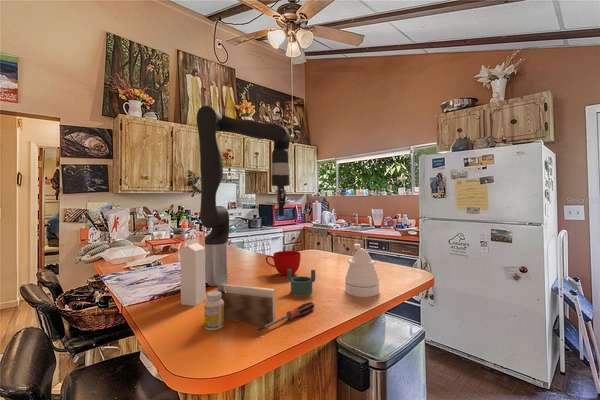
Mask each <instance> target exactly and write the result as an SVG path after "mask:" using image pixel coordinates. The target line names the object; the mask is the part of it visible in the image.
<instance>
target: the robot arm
mask: <svg viewBox="0 0 600 400" xmlns="http://www.w3.org/2000/svg"><path fill="white" fill-rule="evenodd" d="M196 124H197V133H198V139H199V162H200V163H199V167H200V189H201V190H200V194H201V195H200V196H201V197H200V206H199V207H200V209H199V212H200V213H199V216H200V217H199V218H200V222H201V224H202V226H203V227H204V228H205V229H211V230H210V232H209V234H207V236H205V237H204V248H205V281H206V282H207V283H208V285H209V286H211V287H213V286H214V287H215V286H216V287H217V284H219V283H226V284H228V237H229V235H230V214H229V211H228V209H227V208H226V207H225V206H224V205H223V206H222V205H217V194H218V193H217V192H218V190H219V187H220V185H221V182H222V180H223V176H224V167H223V166H224V165H223V157H222V154H221V151H220V148H219V145H218V141H217V132H220V133H221V132H223V133H233V134H238V135H240V136H245V137H250V138H252V139H257V140H267V141H272V142H273V150H272V153H271V186H273V187H276V190H275V199H276V200H275V201H276V206H277V215H278V217H284V215H285V213H284V212H285V211H284V210H285V205H286V195H287V190H285V187H288V186H290V184H291V183H290V164H289V163H290V161H289V160H290V159H289V150H290V143H291V142H290V133H289V131H288V130H287V129H286V127H285V126H284V125H282V124H277V123H270V122H268V123H267V122H266V123H265V122H261V121H258V120H254V119H245V118H241V119H240V118H233V117H230V116H227V115H225V114H222V113H220V111H218V110H217V109H215V108H214V107H212V106H210V105H203V106H201V107H199V109H198V111H197V113H196ZM208 285H207V286H208ZM209 286H208V287H209Z"/></svg>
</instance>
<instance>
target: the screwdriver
mask: <svg viewBox="0 0 600 400" xmlns="http://www.w3.org/2000/svg"><path fill="white" fill-rule="evenodd" d="M314 308H315V303H314V302H313V301H308V302H303V303H302V304H300V305H299V306H297V307H295V308H293V310H288V311H286V314H285V315H284V316H282V317H279V318H278V319H275V321H273V322H271V323H269V324H267V325H262V326H261V327H259V328H257V329H255V332H260V331H262V330H265V329H267V328H269V327H271V326H273V325H275V324H277V323H280V322H282V321H284V320H287V319H288V320H289V321H291V320H293V319H294V318H296V317H300V316H301V315H305V314H307V313H309V312H310V311H311V310H313V309H314Z"/></svg>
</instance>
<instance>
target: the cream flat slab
mask: <svg viewBox="0 0 600 400" xmlns="http://www.w3.org/2000/svg"><path fill="white" fill-rule="evenodd" d="M216 289H217V290H216V291H225V293H232V294H240V295H249V296H258V297H266V298H272V322H273V321H276V288H268V287H258V286H248V285H239V284H231V283H219V284H217V286H216Z"/></svg>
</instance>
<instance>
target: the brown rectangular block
mask: <svg viewBox="0 0 600 400" xmlns="http://www.w3.org/2000/svg"><path fill="white" fill-rule="evenodd" d="M219 292H221V296H222V297H221V299H222V300H223V301H224V320H228V321H235V322H242V323H248V324H255V325H262V326H265V325H267V324H269V323H271V322H272V298H266V297H258V296H249V295H240V294H232V293H226V291H219Z"/></svg>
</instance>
